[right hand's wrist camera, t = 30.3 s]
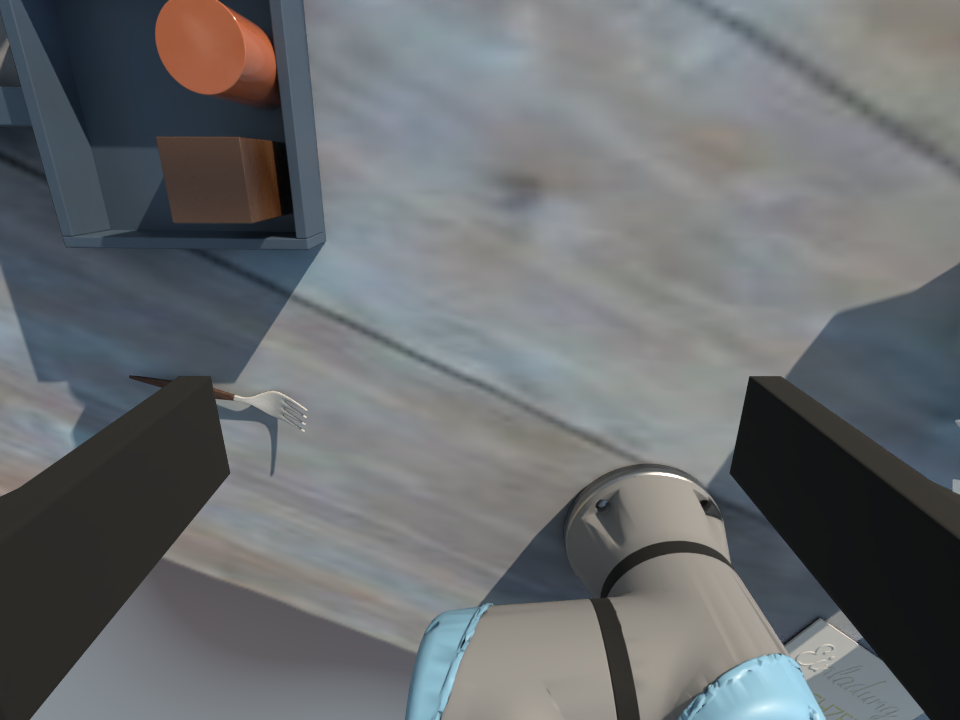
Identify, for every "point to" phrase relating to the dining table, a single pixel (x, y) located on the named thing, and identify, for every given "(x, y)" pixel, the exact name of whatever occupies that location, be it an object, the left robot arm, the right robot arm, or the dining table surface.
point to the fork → (248, 400)
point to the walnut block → (225, 179)
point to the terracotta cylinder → (218, 53)
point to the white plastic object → (958, 485)
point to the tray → (149, 122)
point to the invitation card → (849, 677)
